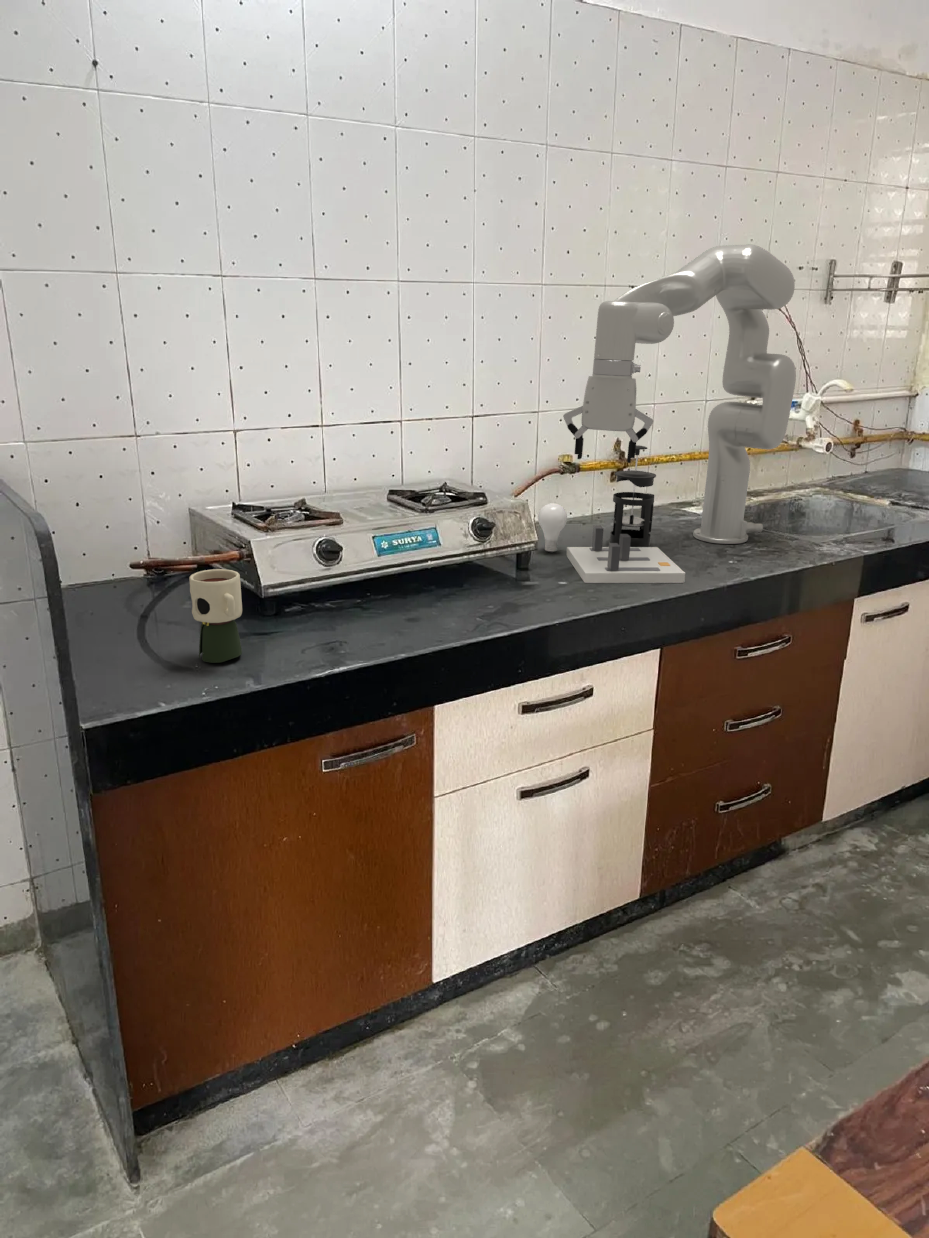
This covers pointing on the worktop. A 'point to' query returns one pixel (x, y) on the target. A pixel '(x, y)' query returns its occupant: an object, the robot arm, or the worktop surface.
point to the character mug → (217, 613)
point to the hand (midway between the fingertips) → (604, 460)
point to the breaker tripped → (624, 546)
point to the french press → (645, 522)
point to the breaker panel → (625, 566)
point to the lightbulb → (552, 524)
